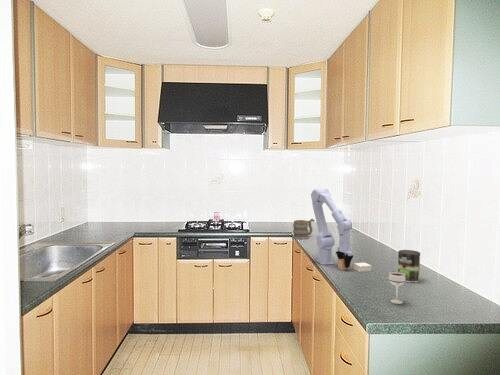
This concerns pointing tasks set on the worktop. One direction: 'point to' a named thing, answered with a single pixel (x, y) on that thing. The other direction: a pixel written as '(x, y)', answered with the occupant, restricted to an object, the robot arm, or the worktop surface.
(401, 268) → the coffee can
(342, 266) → the terracotta cube
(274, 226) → the worktop surface
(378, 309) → the worktop surface
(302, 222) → the tankard
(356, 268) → the cream plinth
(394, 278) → the wineglass
